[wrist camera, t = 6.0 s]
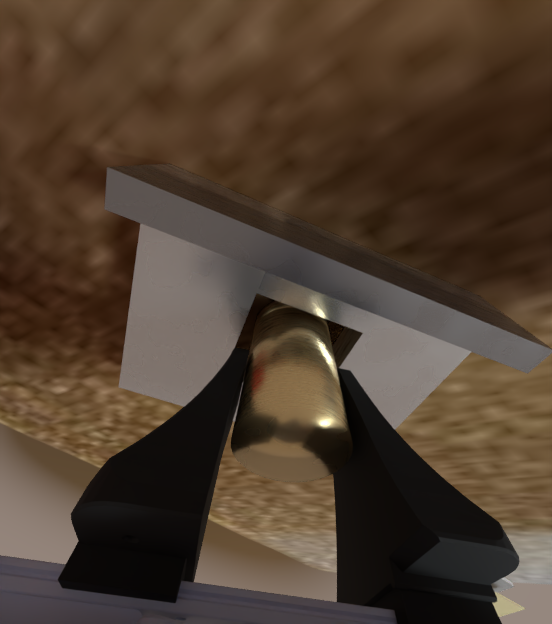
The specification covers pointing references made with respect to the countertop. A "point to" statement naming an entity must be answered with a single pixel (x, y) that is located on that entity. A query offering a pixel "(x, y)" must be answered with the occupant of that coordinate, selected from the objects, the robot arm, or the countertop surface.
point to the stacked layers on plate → (504, 598)
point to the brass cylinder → (291, 400)
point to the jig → (286, 295)
